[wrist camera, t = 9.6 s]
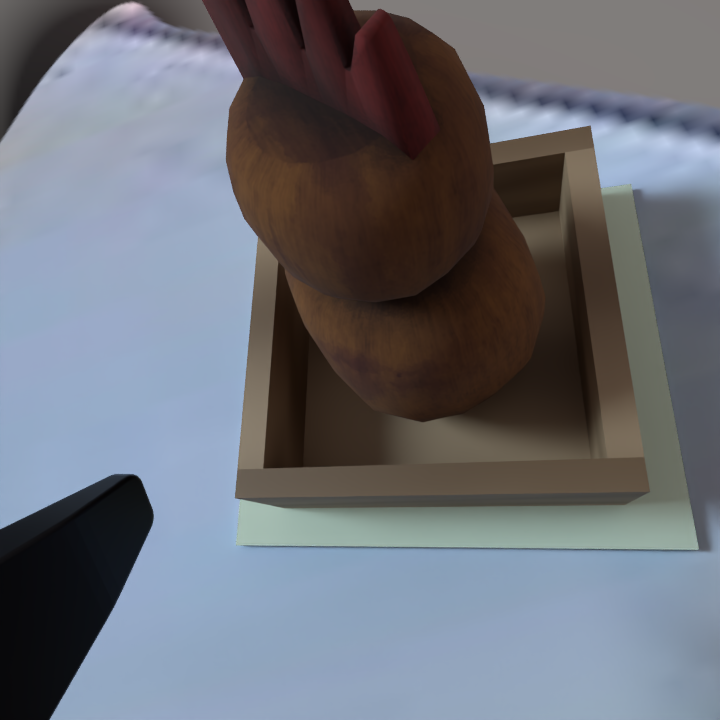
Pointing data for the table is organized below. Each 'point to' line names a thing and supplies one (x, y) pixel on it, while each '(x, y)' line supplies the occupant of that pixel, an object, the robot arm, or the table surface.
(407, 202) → the wooden figurine
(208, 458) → the table surface
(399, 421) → the holder
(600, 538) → the felt mat
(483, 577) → the table surface
